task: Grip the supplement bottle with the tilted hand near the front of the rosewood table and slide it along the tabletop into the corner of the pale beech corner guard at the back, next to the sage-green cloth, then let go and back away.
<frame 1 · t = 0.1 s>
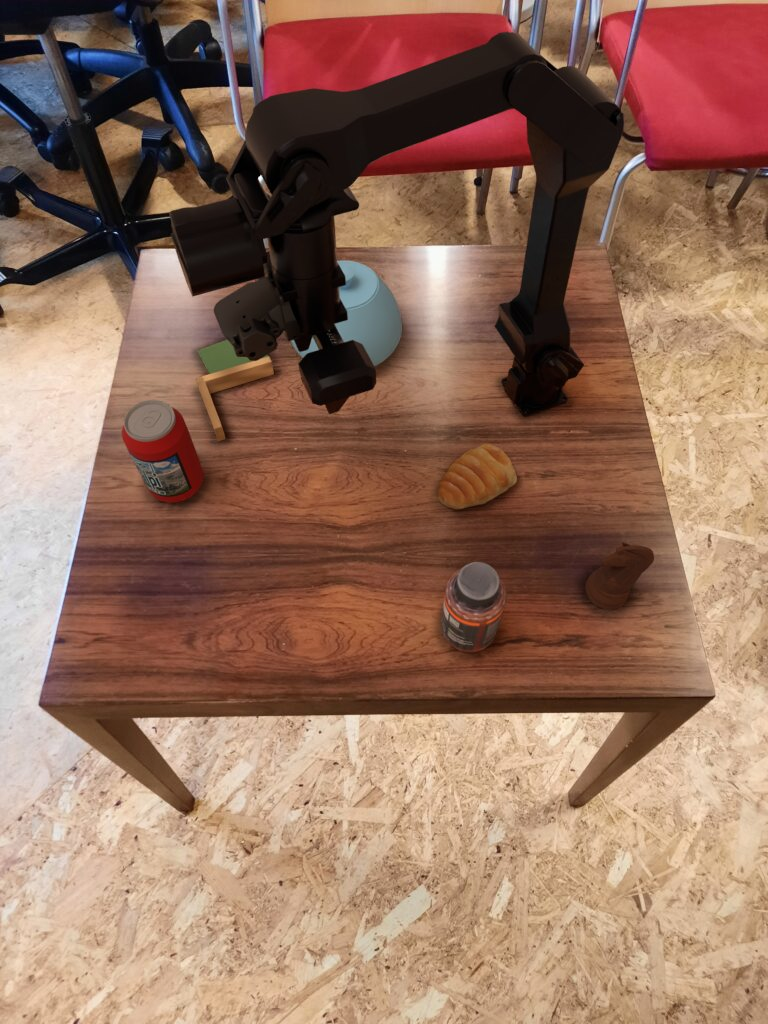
hand: (318, 380, 77), 15 cm above the table, tool pointing down, fingers open, 9 cm apart
corner guard: (209, 394, 95), on the table
sugar bowl: (346, 340, 100), on the table
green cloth: (233, 356, 98), on the table
pastry: (477, 485, 87), on the table
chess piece: (607, 591, 80), on the table
supplement bottle: (467, 628, 78), on the table
beverage can: (177, 483, 88), on the table
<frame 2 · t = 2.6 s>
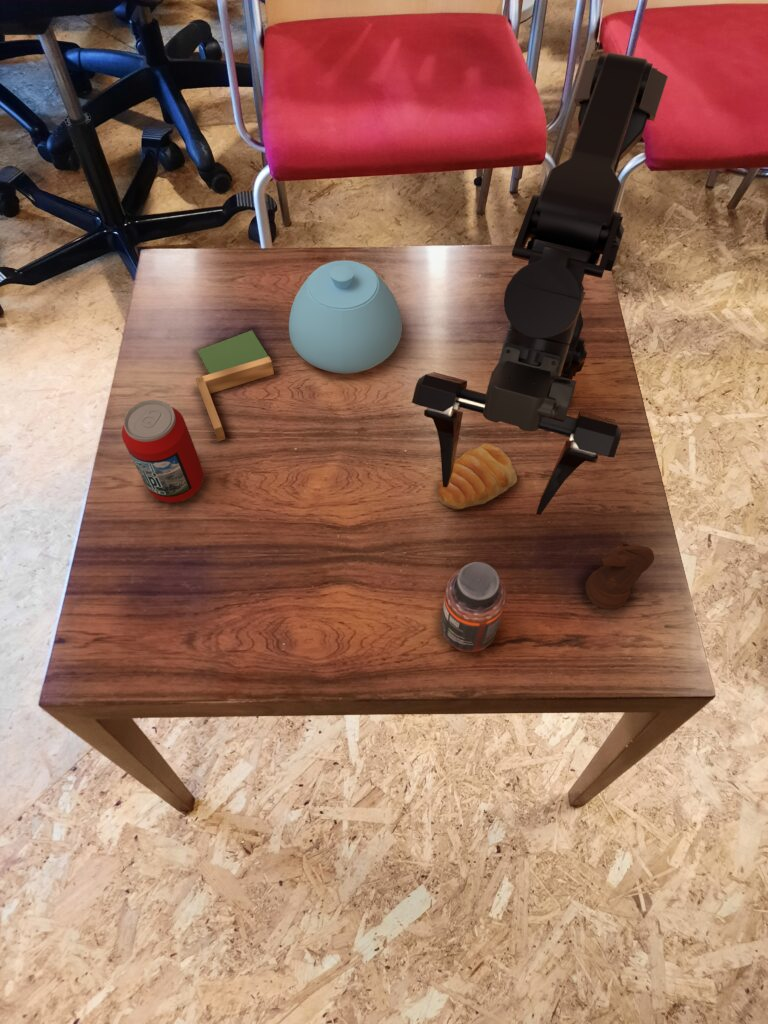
hand: (491, 499, 70), 13 cm above the table, tool tilted 45°, fingers open, 9 cm apart
nothing on the table moved.
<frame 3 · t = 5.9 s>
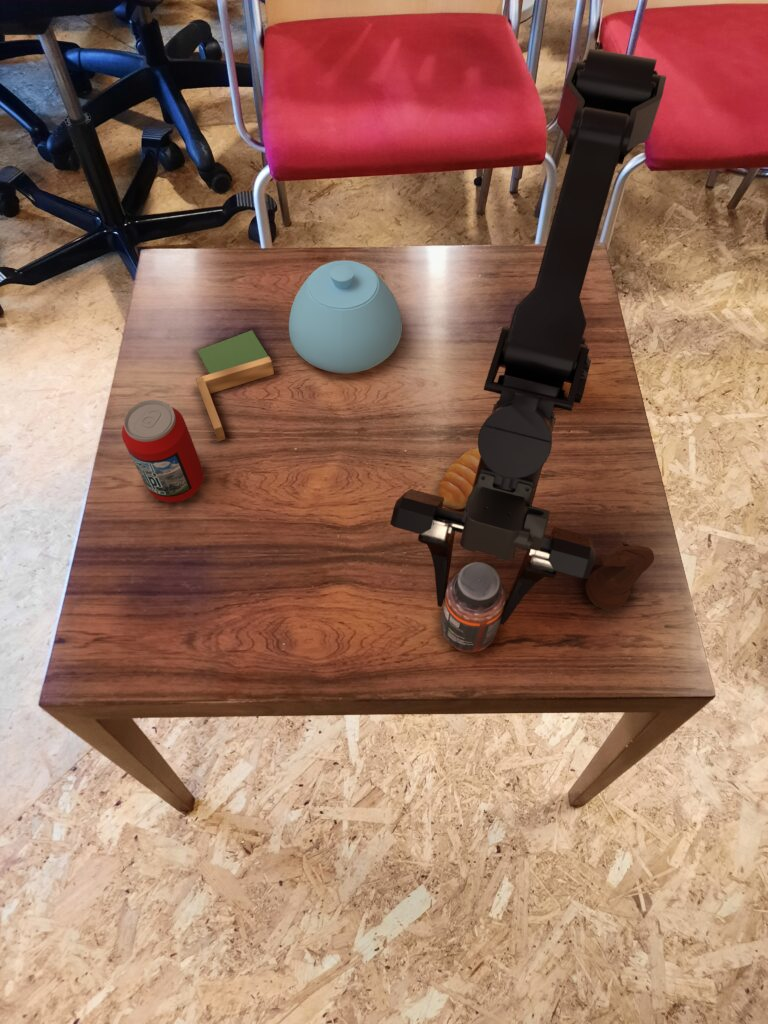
hand: (470, 614, 71), 7 cm above the table, tool tilted 45°, fingers closed on supplement bottle, 6 cm apart
supplement bottle: (467, 628, 78), on the table, touching gripper
everything else where it was.
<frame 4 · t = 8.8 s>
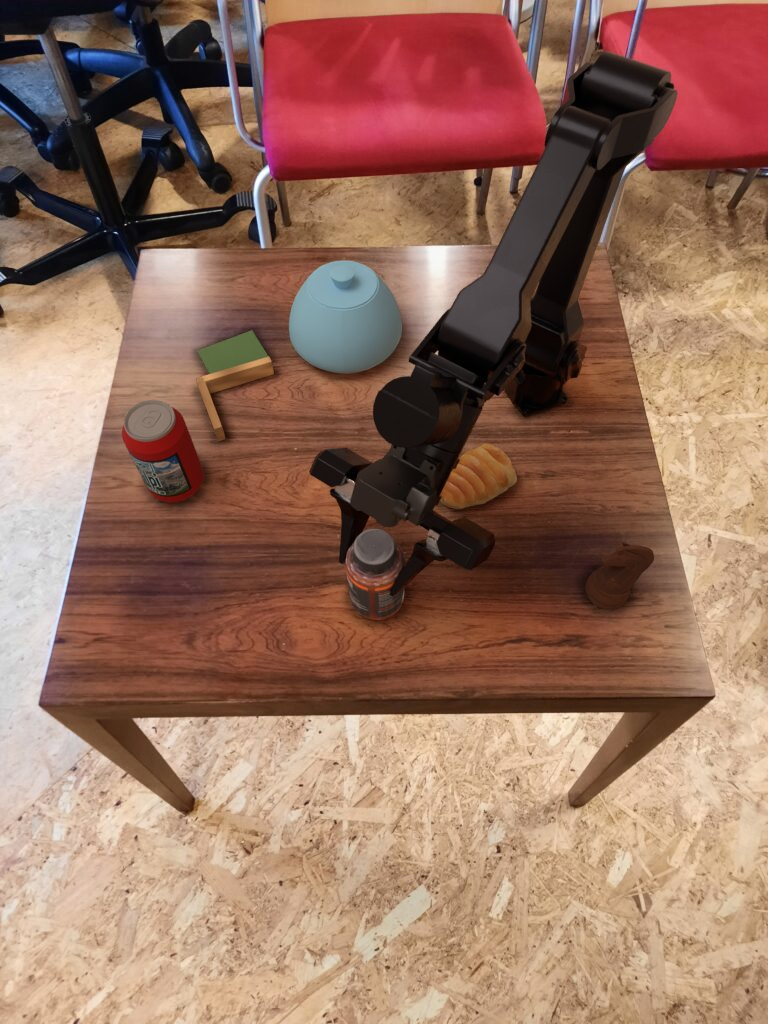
hand: (367, 578, 73), 7 cm above the table, tool tilted 45°, fingers closed on supplement bottle, 6 cm apart
supplement bottle: (376, 597, 80), on the table, touching gripper
everything else where it was.
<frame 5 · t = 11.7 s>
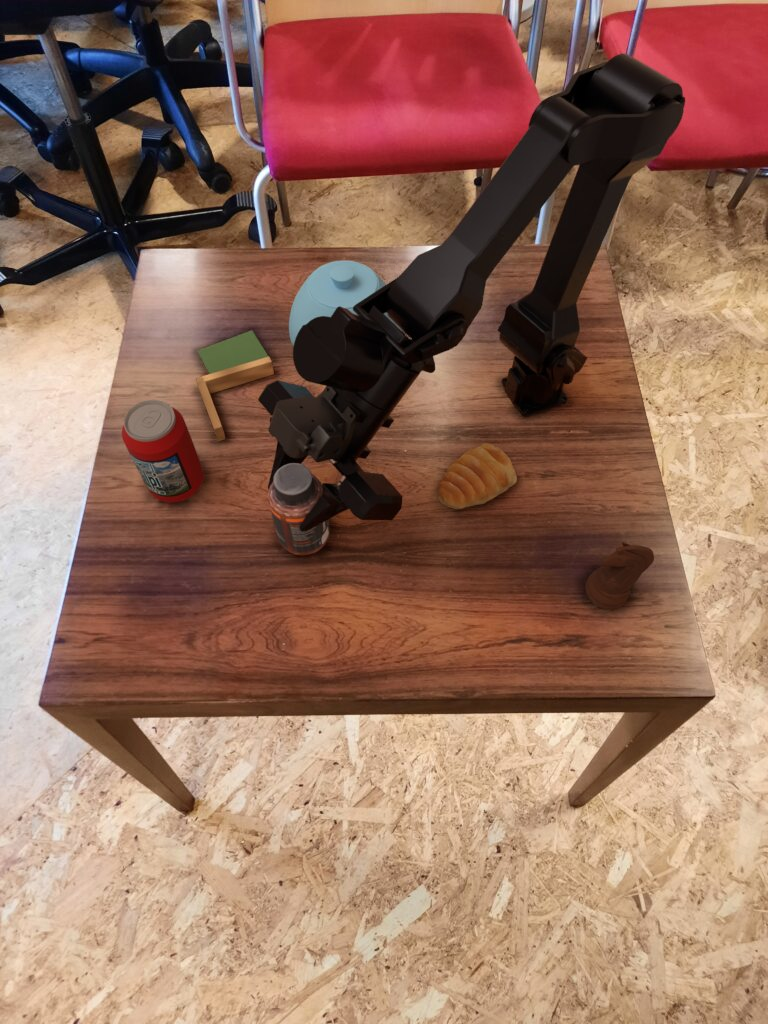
hand: (286, 509, 78), 7 cm above the table, tool tilted 45°, fingers closed on supplement bottle, 6 cm apart
supplement bottle: (304, 535, 84), on the table, touching gripper
everything else where it was.
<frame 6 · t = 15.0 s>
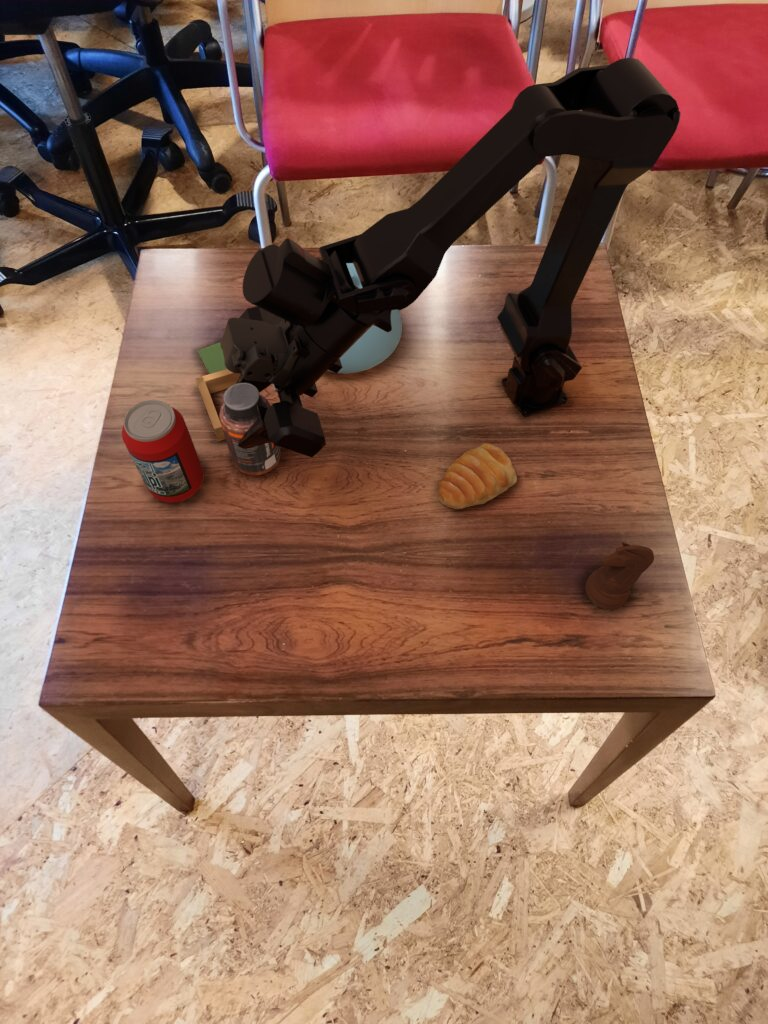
hand: (236, 425, 84), 7 cm above the table, tool tilted 45°, fingers closed on supplement bottle, 6 cm apart
supplement bottle: (257, 458, 90), on the table, touching gripper
everything else where it was.
when the fingers open (7 cm above the table, at t = 17.6 s): supplement bottle stays where it is, on the table.
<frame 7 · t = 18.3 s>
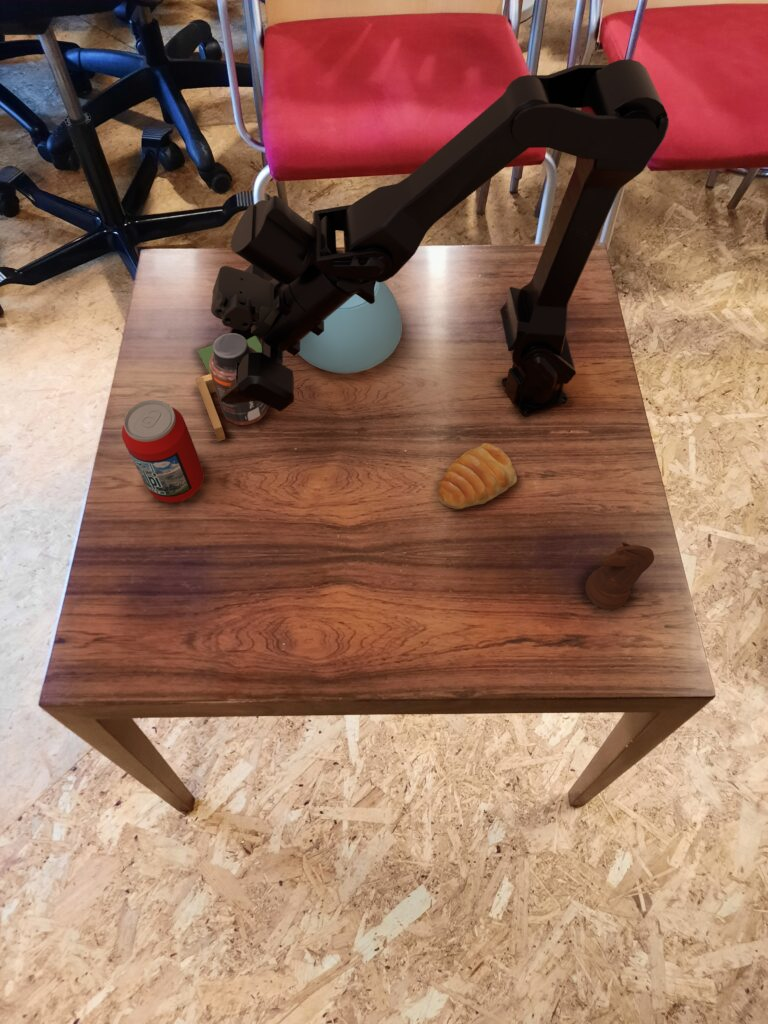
hand: (225, 372, 88), 7 cm above the table, tool tilted 45°, fingers open, 9 cm apart
supplement bottle: (246, 410, 94), on the table
everything else where it was.
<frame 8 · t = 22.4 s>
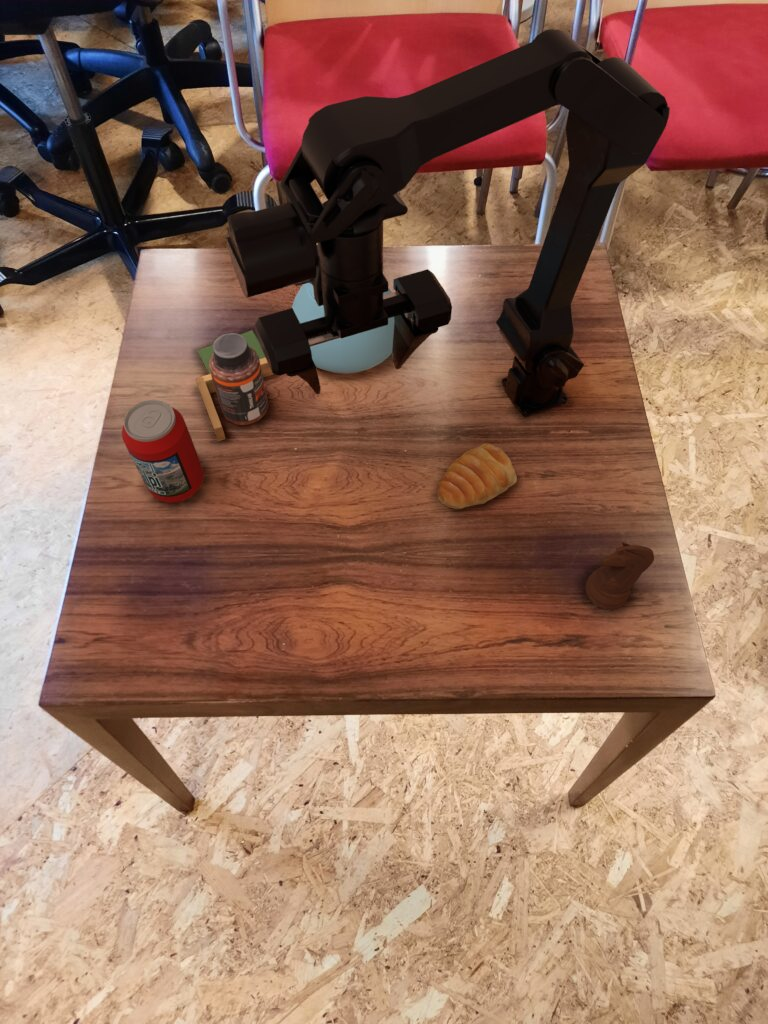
hand: (357, 378, 79), 13 cm above the table, tool pointing down, fingers open, 9 cm apart
nothing on the table moved.
at the end: supplement bottle 1.6 cm from the target spot on the corner guard, point 0.0 cm above the corner guard's base; supplement bottle tilted 0°; the gripper is holding nothing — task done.
